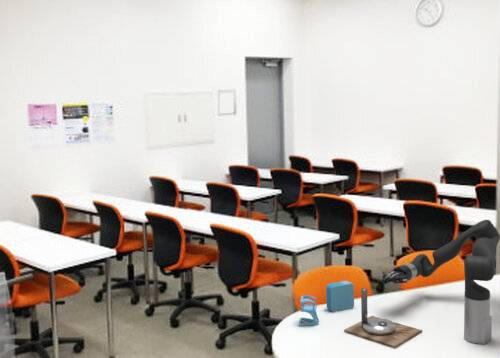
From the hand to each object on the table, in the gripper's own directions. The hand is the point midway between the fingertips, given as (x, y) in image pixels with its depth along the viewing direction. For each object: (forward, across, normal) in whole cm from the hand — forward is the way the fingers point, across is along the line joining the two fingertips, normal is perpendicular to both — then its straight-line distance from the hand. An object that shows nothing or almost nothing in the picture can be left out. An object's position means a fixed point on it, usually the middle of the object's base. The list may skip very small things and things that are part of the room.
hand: (383, 281), depth 249 cm
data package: (+2, +21, -17) cm, 27 cm away
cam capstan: (+12, -7, -16) cm, 21 cm away
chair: (+24, +21, -17) cm, 36 cm away
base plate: (+12, -8, -17) cm, 22 cm away
